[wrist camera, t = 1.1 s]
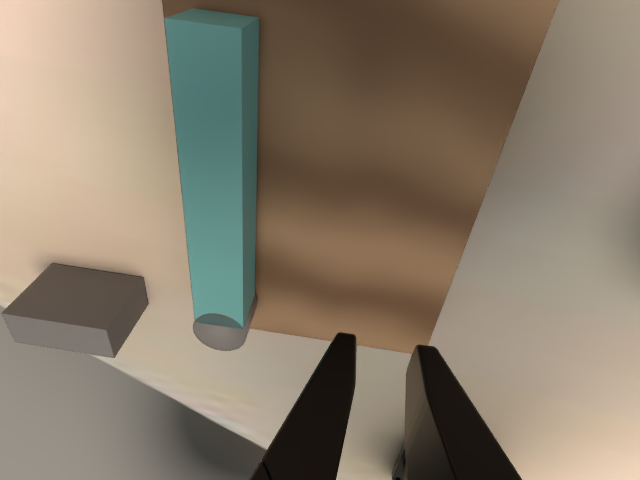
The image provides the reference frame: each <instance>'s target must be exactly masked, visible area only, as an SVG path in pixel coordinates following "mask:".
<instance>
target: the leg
mask: <svg viewBox="0 0 640 480" xmlns="http://www.w3.org/2000/svg"><path fill="white" fill-rule="evenodd" d="M164 19H165V29H166V39H167V49H168V59H169V69H170V79H171V89H172V98H173V108H174V118H175V128H176V138H177V148H178V158H179V168H180V178H181V187H182V197H183V207H184V217H185V227H186V237H187V247H188V257H189V267H190V277H191V286H192V296H193V306H194V316H195V321H194V324H193V331H194V334H195V335H196V337H197V338H198V339H199V340H200V341H201V342H202V343H203V344H205V345H206V346H208V347H210V348H213V349H216V350H222V351H231V350H235V349H238V348H240V347H241V346H242V345H243V344H244V342H245V340H246V337H247V334H248V331H249V328H250V325H251V322H252V319H253V316H254V313H255V310H256V307H257V299H256V296H255V248H256V189H257V130H258V71H259V17H254V16H246V15H239V14H231V13H224V12H216V11H209V10H201V9H194V8H192V9H189V10H186V11H183V12H181V13H178V14H175V15H172V16H169V17H166V18H164Z"/></svg>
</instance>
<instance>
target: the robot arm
mask: <svg viewBox="0 0 640 480" xmlns="http://www.w3.org/2000/svg"><path fill="white" fill-rule="evenodd" d="M355 382H356V335H354V334H350V333H343V332H338V333H337V334H336V336H335V337H334V339H333V341H332V342H331V344H330V346H329V347H328V349H327V351H326V352H325V354H324V356H323V357H322V359H321V361H320V362H319V364H318V366H317V368H316V369H315V371H314V373H313V374H312V376H311V378H310V379H309V381H308V383H307V384H306V386H305V388H304V389H303V391H302V393H301V394H300V396H299V398H298V399H297V401H296V403H295V404H294V406H293V408H292V409H291V411H290V413H289V414H288V416H287V418H286V419H285V421H284V423H283V424H282V426H281V428H280V429H279V431H278V433H277V434H276V436H275V438H274V439H273V441H272V443H271V444H270V446H269V448H268V449H267V451H266V453H265V455H264V456H263V458H262V462H260V463H259V464H258V466H257V467H256V469H255V471H254V472H253V474H252V476H251V477H250V479H249V480H336V477H337V472H338V467H339V462H340V458H341V453H342V448H343V443H344V438H345V434H346V429H347V424H348V419H349V415H350V410H351V405H352V400H353V395H354V390H355ZM392 479H393V480H522V479H521V477H520V476H519V474H518V473H517V471H516V470H515V468H514V466H513V465H512V463H511V462H510V460H509V459H508V457H507V456H506V454H505V453H504V451H503V450H502V448H501V446H500V445H499V443H498V442H497V440H496V439H495V437H494V436H493V434H492V433H491V431H490V430H489V428H488V426H487V425H486V423H485V422H484V420H483V419H482V417H481V416H480V414H479V413H478V411H477V410H476V408H475V406H474V405H473V403H472V402H471V400H470V399H469V397H468V396H467V394H466V393H465V391H464V390H463V388H462V386H461V385H460V383H459V382H458V380H457V379H456V377H455V376H454V374H453V373H452V371H451V370H450V368H449V366H448V365H447V363H446V362H445V360H444V359H443V357H442V356H441V354H440V353H439V351H438V350H437V349H436V348H435V347H433V346H427V345H421V344H419V345H416V347H415V348H414V351H413V354H412V357H411V359H410V362H409V365H408V368H407V373H406V402H405V443H404V446H403V448H402V450H401V453H400V455H399V458H398V460H397V462H396V465H395V467H394V470H393V472H392Z"/></svg>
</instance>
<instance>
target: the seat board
mask: <svg viewBox="0 0 640 480" xmlns="http://www.w3.org/2000/svg"><path fill="white" fill-rule="evenodd" d="M558 1H559V0H162V3H163V13H164V18H166V17H169V16H172V15H175V14H178V13H181V12H183V11H186V10H189V9H192V8H194V9H201V10H209V11H216V12H224V13H231V14H239V15H246V16H254V17H259V71H258V130H257V189H256V248H255V296H256V299H257V307H256V310H255V313H254V316H253V319H252V322H251V325H250V328H251V329H257V330H264V331H270V332H277V333H283V334H289V335H296V336H302V337H309V338H315V339H321V340H328V341H333V339H334V337H335V336H336V334H337V333H338V332H343V333H350V334H354V335H356V345H360V346H366V347H372V348H379V349H385V350H392V351H398V352H404V353H411V354H413V351H414V348H415V347H416V345H419V344H421V345H427V346H428V343H429V340H430V338H431V335H432V332H433V330H434V327H435V325H436V322H437V319H438V317H439V314H440V311H441V309H442V306H443V304H444V301H445V298H446V296H447V293H448V290H449V288H450V285H451V283H452V280H453V277H454V275H455V272H456V269H457V267H458V264H459V262H460V259H461V256H462V254H463V251H464V248H465V246H466V243H467V241H468V238H469V235H470V233H471V230H472V227H473V225H474V222H475V220H476V217H477V214H478V212H479V209H480V206H481V204H482V201H483V198H484V196H485V193H486V191H487V188H488V185H489V183H490V180H491V177H492V175H493V172H494V170H495V167H496V164H497V162H498V159H499V156H500V154H501V151H502V149H503V146H504V143H505V141H506V138H507V135H508V133H509V130H510V128H511V125H512V122H513V120H514V117H515V114H516V112H517V109H518V107H519V104H520V101H521V99H522V96H523V93H524V91H525V88H526V85H527V83H528V80H529V78H530V75H531V72H532V70H533V67H534V64H535V62H536V59H537V57H538V54H539V51H540V49H541V46H542V43H543V41H544V38H545V36H546V33H547V30H548V28H549V25H550V22H551V20H552V17H553V15H554V12H555V9H556V7H557V4H558ZM164 23H165V19H164ZM165 33H166V29H165ZM166 43H167V39H166ZM167 53H168V49H167ZM168 63H169V59H168ZM169 72H170V69H169ZM170 82H171V79H170ZM171 92H172V89H171ZM172 102H173V98H172ZM173 112H174V108H173ZM174 122H175V118H174ZM175 131H176V128H175ZM176 141H177V138H176ZM177 151H178V148H177ZM178 161H179V158H178ZM179 171H180V168H179ZM180 181H181V178H180ZM181 191H182V187H181ZM182 200H183V197H182ZM183 210H184V207H183ZM184 220H185V217H184ZM185 230H186V227H185ZM186 240H187V237H186ZM187 250H188V247H187ZM188 259H189V257H188ZM189 269H190V267H189ZM190 279H191V277H190ZM191 289H192V286H191ZM192 299H193V296H192ZM193 309H194V306H193ZM194 319H195V316H194Z"/></svg>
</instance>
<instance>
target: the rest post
mask: <svg viewBox="0 0 640 480" xmlns="http://www.w3.org/2000/svg"><path fill="white" fill-rule="evenodd" d="M147 306H148V300H147V295H146V290H145V284H144V279H143V277H137V276H131V275H124V274H118V273H111V272H105V271H98V270H92V269H85V268H79V267H72V266H66V265H59V264H53V263H52V264H51V265H50V266H49V267H48V268H47V269H46V270H45V271H44V272H43V273H42V274H41V275H40V276H39V277H38V278H37V279H36V280H35V281H34V282H33V283H32V284H31V285H30V286H28V287H27V288H26V289H25V290H24V291H23V292H22V293H21V294H20V295H19V296H18V297H17V298H16V299H15V300H14V301H13V302H12V303H11V304H10V305H9V306H8V307H7V308H6V309H5V310H4V311H3V312H2V313H1V314H2V316H3V318H4V320H5V322H6V324H7V327H8V329H9V331H10V333H11V335H12V337H13V339H14V341H15V342H18V343H23V344H30V345H37V346H42V347H49V348H54V349H61V350H67V351H73V352H80V353H86V354H92V355H98V356H104V357H110V358H115V356H116V355H117V353H118V351H119V350H120V348H121V347H122V345H123V344H124V342H125V340H126V339H127V337H128V336H129V334H130V332H131V331H132V329H133V328H134V326H135V325H136V323H137V321H138V320H139V318H140V317H141V315H142V314H143V312H144V310H145V309H146V307H147Z"/></svg>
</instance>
